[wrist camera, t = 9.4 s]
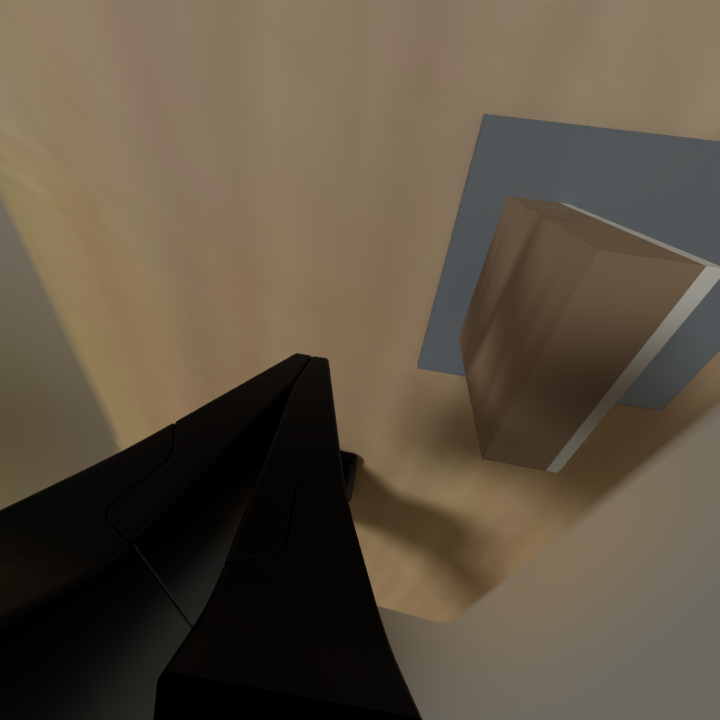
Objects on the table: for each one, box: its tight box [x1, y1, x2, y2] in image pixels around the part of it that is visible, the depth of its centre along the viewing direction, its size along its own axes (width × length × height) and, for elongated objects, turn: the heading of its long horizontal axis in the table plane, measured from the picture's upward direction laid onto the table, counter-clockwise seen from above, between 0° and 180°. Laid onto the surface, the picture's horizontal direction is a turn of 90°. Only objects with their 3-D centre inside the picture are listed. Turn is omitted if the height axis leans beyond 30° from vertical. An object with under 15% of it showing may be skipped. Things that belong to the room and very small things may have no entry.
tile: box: [458, 196, 720, 473], centre depth 11 cm, size 7×2×8 cm, turn 174°
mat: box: [418, 114, 720, 411], centre depth 15 cm, size 12×14×1 cm
